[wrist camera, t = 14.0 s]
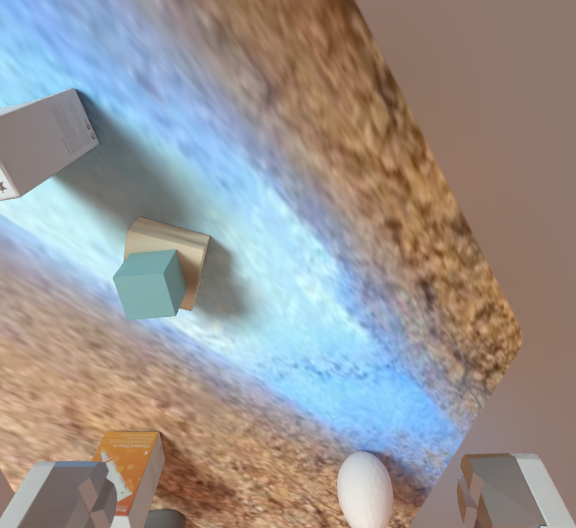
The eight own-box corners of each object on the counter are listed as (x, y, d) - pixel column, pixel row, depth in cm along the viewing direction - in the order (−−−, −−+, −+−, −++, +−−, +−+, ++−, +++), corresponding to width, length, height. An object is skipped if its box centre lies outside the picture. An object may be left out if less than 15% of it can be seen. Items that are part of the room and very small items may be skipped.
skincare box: (75, 86, 44) (-22, 116, 31) (103, 147, 47) (24, 198, 34) (-1, 108, 45) (-125, 146, 32) (30, 166, 48) (-73, 222, 35)
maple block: (139, 215, 51) (127, 230, 47) (210, 234, 51) (203, 250, 48) (132, 275, 54) (120, 293, 51) (198, 292, 55) (191, 310, 52)
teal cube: (130, 253, 48) (112, 277, 44) (176, 249, 48) (163, 273, 44) (143, 293, 51) (127, 319, 46) (187, 289, 50) (175, 316, 46)
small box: (159, 430, 66) (129, 516, 55) (166, 459, 69) (138, 547, 58) (104, 429, 67) (62, 515, 55) (113, 458, 70) (75, 546, 58)
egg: (328, 444, 66) (331, 523, 56) (377, 432, 65) (390, 511, 55) (344, 476, 70) (351, 557, 59) (392, 465, 68) (407, 546, 58)
